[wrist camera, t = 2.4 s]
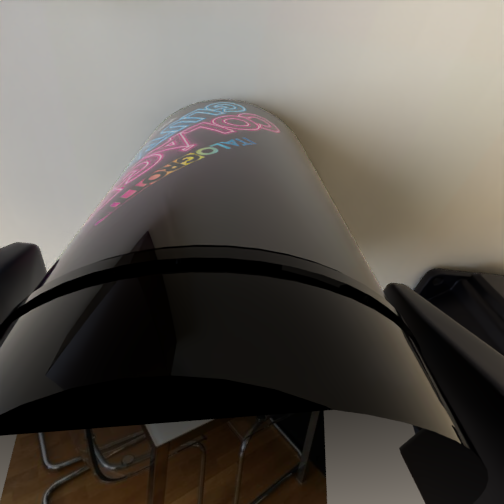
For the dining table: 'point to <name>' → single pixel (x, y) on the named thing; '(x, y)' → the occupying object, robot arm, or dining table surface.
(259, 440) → the supplement container
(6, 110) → the dining table surface
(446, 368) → the robot arm
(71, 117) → the dining table surface
